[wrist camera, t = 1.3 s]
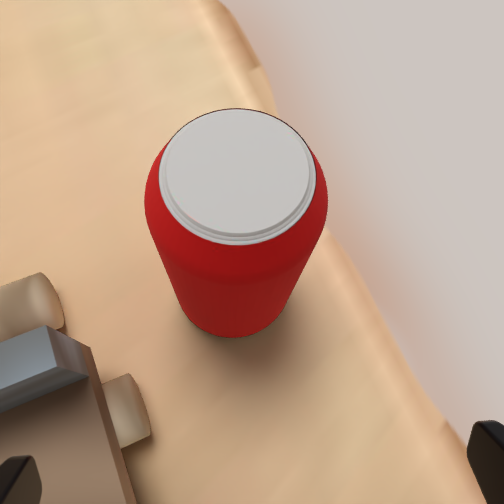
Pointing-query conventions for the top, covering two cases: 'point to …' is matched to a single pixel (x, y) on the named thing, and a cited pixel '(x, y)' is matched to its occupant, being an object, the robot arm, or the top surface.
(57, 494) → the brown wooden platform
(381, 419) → the top surface
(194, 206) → the beverage can
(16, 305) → the roller
